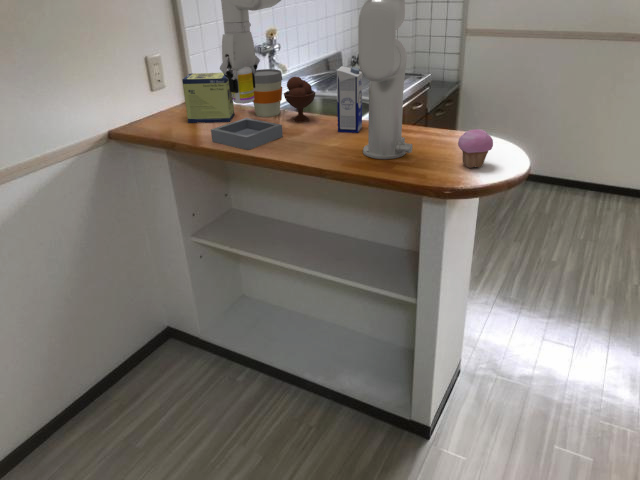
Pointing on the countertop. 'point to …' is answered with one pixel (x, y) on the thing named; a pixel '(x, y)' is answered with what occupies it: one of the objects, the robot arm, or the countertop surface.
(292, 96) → the ice cream bowl
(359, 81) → the milk carton
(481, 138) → the cupcake
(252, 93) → the supplement bottle
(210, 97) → the protein box
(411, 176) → the countertop surface
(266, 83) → the reusable coffee cup
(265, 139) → the gray rectangular tray
